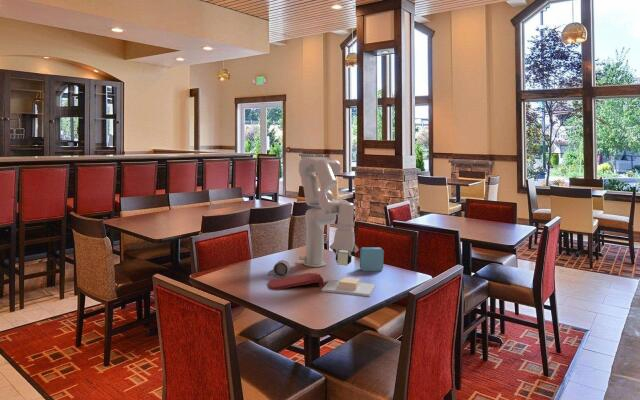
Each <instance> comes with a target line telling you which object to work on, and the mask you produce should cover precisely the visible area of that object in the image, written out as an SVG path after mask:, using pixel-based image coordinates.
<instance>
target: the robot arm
mask: <svg viewBox="0 0 640 400" xmlns="http://www.w3.org/2000/svg"><path fill="white" fill-rule="evenodd" d="M341 170H342V167H341V163H340V161H338V159H335V158H331V157H326V156H306V157H302V158H301V159H300V160H299V162H298V173H299V176H300V178H301V179H300V180H301V181H302V186H303V192H304V199H305V203H306V205H307V206H309V207H313V208H309V209H307V210H306V212H305V214H304V215H305V217H304V219H305V225H306V226H305V227H306V244H305V245H306V249H305V254H306V255H299V256H298V258H299V260H300V261H303V262H302V263H303V265H304V266H306V267H308V268H309V267H310V268H318V267H319V268H321V267H324V266H326V265H327V264H326V261H325V260H324V246H325V245H324V241H325V235H324V230H323V229H322V227H321V226H325V225H326V226H327V225H333V224H334V227H336V229H335V232H334V237H333V238H334V239H333V243H332V244H331V245H330V246H329V249H331V250H332V252H333V253H334V255H335V261H336V262H337V259H338V252H339V251H348V253H349V256H348V265H350V264H351V262H352V257H353V255H354V254H356V253H357V252H358V251H360V249H359V248H358V246H357V245H356V244H355V243H356V242H355V241H356V239H355V238H356V237H355V230H354V215H355V214H354V212H355V206H354V203H353V202H350V201H347V200H346V199H334V195H333V192H332V191H331V190H333V189H334V188H336V186H337V184H338V181H337V179H336V175H339V174H340V173H341ZM313 173H315V174H316V176H317V177H316V176H315V175H314V174H313ZM319 183H320V185H319ZM320 186H321V187H320ZM314 207H315V208H314ZM336 220H337V223H335V222H336Z"/></svg>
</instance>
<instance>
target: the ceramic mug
mask: <svg viewBox="0 0 640 400" xmlns="http://www.w3.org/2000/svg"><path fill="white" fill-rule="evenodd" d="M290 268H291V267H290V264H289V262H288V261H286V260H284V259H283V260H278V261H277V262H276V263H275V264H274V266H273V267H272V269H271V270H270V271H268V272H267V273H268V276H273V275H275V276H276V277H277V278H284V277H287V275H288V273H289V271H290Z"/></svg>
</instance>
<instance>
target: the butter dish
mask: <svg viewBox="0 0 640 400" xmlns="http://www.w3.org/2000/svg"><path fill="white" fill-rule="evenodd" d="M374 289H376V284H374V283H366V282H360V278H353V277H345V276H343V277H342V278H341V279H340V280H338V279H329V281H328V282H327V283H326V284H324V287H322V288H321V292H325V293H334V294H335V293H337V294H343V295H353V296H360V297H370V296H372V294H373V292H374Z"/></svg>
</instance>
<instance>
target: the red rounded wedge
mask: <svg viewBox="0 0 640 400" xmlns="http://www.w3.org/2000/svg"><path fill="white" fill-rule="evenodd" d="M312 283H314V284H315V283H317V285H318V287H322V288H323V287H324V286H325V284H324V278H323V277H322V276H321V274H319V273H316V272H314V273H313V272H307V273H302V274H301V273H300V274H295V275H291V276H290V275H288V276H284V277H277V278H273V279H270V280H269V281H268V286H269V289H271V290H274V291H275V290H282V289H287V288H293V287H297V286H303V285H309V284H312Z"/></svg>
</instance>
